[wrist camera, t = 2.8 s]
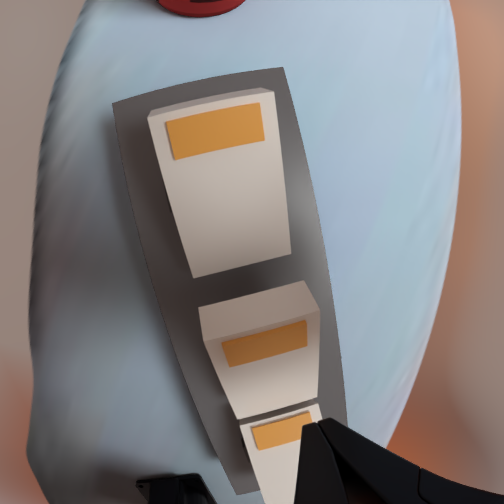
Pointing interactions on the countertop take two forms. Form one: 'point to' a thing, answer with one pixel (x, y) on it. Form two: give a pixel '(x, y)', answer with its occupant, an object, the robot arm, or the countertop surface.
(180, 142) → the rocker
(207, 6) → the canned food
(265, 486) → the rocker
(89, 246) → the countertop surface
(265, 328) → the block
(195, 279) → the rocker switch panel
